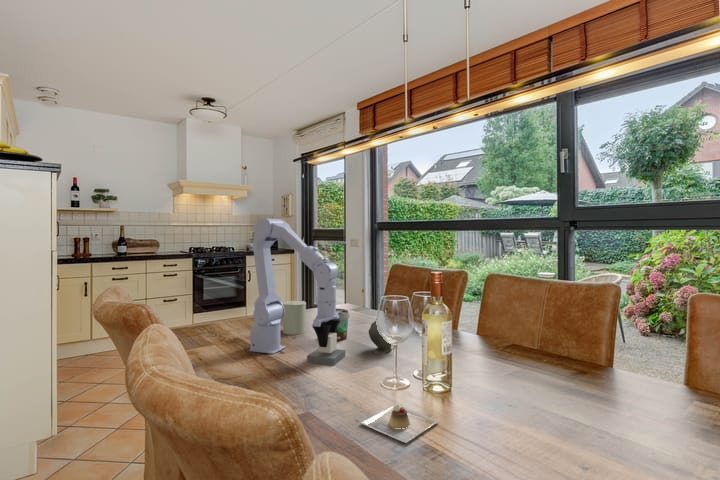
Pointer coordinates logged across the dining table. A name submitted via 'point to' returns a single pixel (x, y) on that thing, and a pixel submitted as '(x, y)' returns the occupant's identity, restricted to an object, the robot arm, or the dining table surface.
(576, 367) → the dining table surface
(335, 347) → the block
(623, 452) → the dining table surface
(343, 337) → the food container
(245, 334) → the dining table surface
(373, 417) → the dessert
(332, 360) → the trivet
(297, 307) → the can
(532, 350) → the dining table surface
